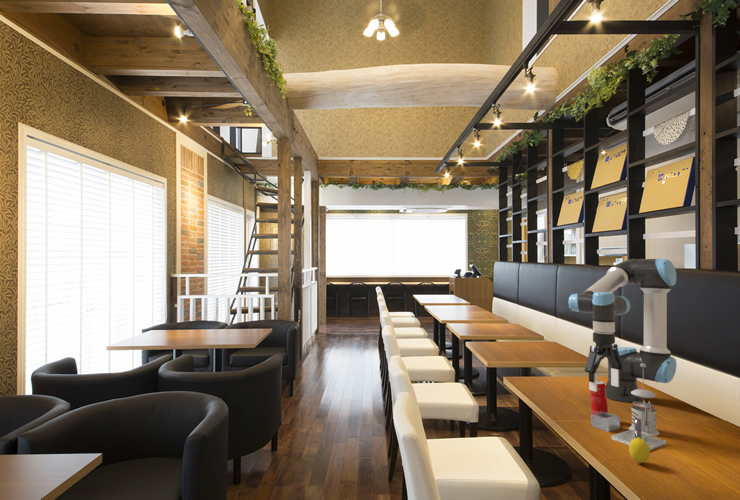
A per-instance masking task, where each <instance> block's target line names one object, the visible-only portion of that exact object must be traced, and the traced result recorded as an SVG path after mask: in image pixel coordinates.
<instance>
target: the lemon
mask: <svg viewBox="0 0 740 500" xmlns="http://www.w3.org/2000/svg"><path fill="white" fill-rule="evenodd" d="M628 452H629V454H630V457H631V458H632V459H633V460H634V461H636V462H637V464H642V463H646V462H647V461H648V460H649V459H650V454H651V450H649V446H648V444H647V443H646V442H645V441H644V440H643V439H641V438H640V437H638V438H635V439H633V440H632V441H631V442H630V445H628Z"/></svg>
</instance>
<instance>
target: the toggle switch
mask: <svg viewBox="0 0 740 500" xmlns="http://www.w3.org/2000/svg"><path fill="white" fill-rule="evenodd" d="M634 420H635V431H634V430H629V429H628V430H625V431H622V432H618V433H616V434H612V435H611V437H610V439H611V440H613V441H615V442H619V443H622V444H624V445H627V446H629V445H630V442H631V441H632V440H633V439H635V438H638V437H640V438H641V439H643V440H644V441H645V442H646V443H647V444H648V446H649V450H650V451H652V450H655V449H658V448H660V447H663V446H666V445H667V441H666V440H664V439H661V438H657V437H656V436H655V437H654V436H649V435H646V434H643V433H641V419H634Z"/></svg>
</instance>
